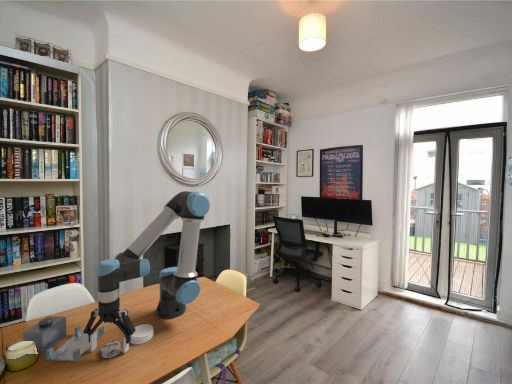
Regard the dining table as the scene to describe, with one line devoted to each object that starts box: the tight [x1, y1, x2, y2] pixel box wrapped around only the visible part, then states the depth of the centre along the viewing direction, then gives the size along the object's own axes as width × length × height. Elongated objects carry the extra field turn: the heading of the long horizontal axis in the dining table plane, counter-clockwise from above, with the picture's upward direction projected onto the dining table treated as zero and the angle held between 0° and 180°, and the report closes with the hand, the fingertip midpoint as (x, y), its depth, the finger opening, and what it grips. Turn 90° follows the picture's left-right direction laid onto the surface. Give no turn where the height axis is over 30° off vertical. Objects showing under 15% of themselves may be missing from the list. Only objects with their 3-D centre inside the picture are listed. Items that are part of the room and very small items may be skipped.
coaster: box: [129, 323, 154, 345], centre depth 113 cm, size 10×10×4 cm
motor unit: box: [22, 315, 106, 362], centre depth 107 cm, size 24×18×10 cm
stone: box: [100, 340, 122, 359], centre depth 103 cm, size 10×7×3 cm
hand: (110, 350), depth 103 cm, fingers open, 13 cm apart
